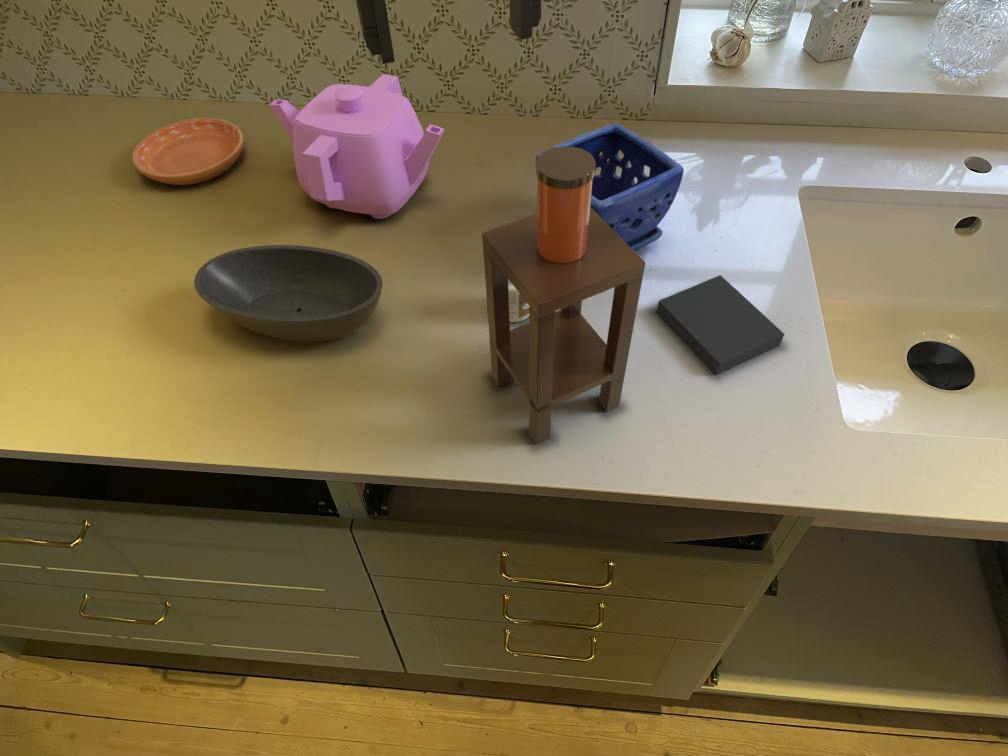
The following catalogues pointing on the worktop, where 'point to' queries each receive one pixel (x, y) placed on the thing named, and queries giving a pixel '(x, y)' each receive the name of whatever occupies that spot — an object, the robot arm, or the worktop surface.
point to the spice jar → (563, 203)
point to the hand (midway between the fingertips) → (455, 45)
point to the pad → (719, 324)
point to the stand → (559, 317)
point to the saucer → (189, 151)
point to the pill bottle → (516, 305)
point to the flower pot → (629, 182)
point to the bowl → (291, 291)
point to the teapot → (359, 146)
